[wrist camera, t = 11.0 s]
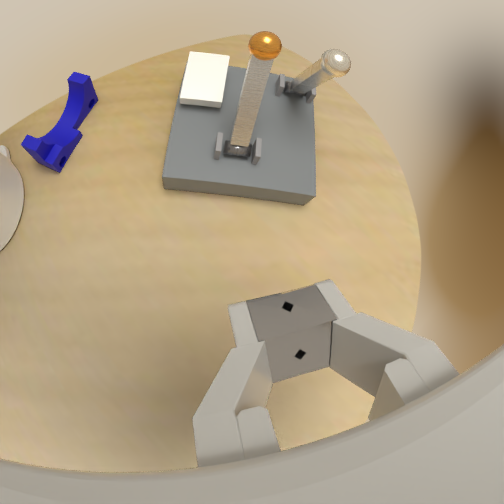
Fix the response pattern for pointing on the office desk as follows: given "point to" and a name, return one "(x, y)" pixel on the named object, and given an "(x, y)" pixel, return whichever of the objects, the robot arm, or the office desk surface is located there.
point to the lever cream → (320, 72)
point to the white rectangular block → (204, 79)
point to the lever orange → (252, 91)
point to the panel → (262, 139)
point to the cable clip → (64, 126)
